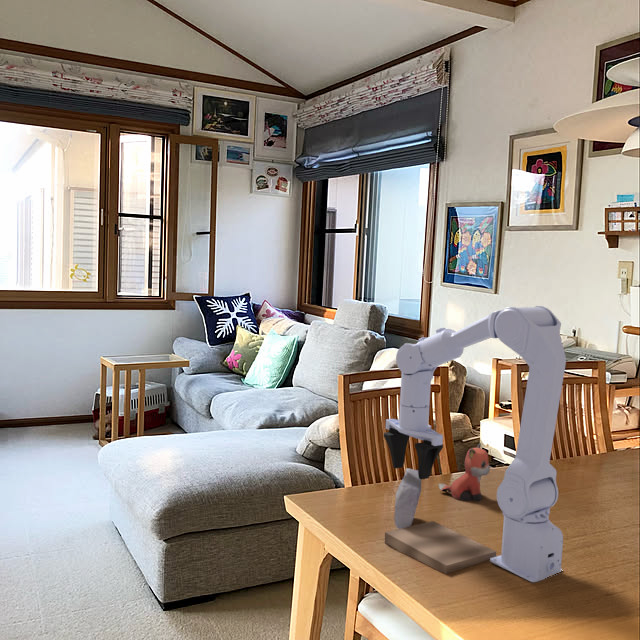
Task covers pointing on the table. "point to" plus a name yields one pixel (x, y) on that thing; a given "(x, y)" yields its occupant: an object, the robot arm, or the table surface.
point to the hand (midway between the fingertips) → (410, 472)
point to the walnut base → (438, 546)
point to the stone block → (407, 498)
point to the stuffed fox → (470, 476)
